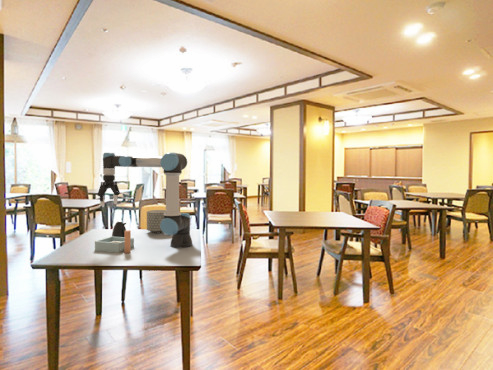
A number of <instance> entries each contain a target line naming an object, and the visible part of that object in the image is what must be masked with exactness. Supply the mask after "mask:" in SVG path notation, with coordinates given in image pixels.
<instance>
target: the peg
mask: <svg viewBox="0 0 493 370" xmlns="http://www.w3.org/2000/svg"><path fill="white" fill-rule="evenodd" d="M131 232H132V231H131V230H127V229H126V231H125V250H124V254H131V251H132V250H131V249H132V248H131V238H132V237H131Z"/></svg>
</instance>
